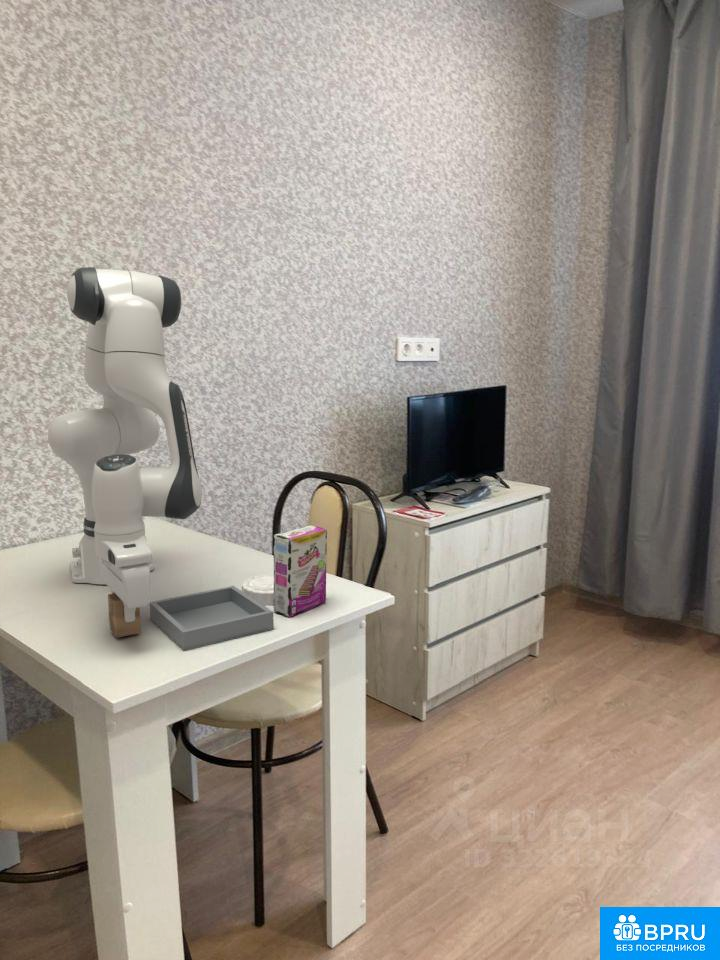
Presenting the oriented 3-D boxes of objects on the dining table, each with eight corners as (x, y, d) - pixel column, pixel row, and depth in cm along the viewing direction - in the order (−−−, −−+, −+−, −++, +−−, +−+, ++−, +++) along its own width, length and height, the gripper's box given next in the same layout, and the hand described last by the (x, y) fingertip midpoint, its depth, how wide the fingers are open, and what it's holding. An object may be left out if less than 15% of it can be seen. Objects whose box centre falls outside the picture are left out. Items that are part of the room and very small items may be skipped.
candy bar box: (290, 618, 148) (289, 539, 144) (273, 612, 151) (271, 534, 148) (328, 603, 156) (327, 527, 153) (310, 598, 159) (310, 523, 156)
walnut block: (109, 629, 140) (107, 594, 139) (133, 624, 143) (131, 590, 141) (116, 637, 136) (114, 601, 135) (140, 632, 139) (139, 597, 137)
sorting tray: (150, 619, 147) (149, 602, 146) (234, 601, 157) (233, 585, 156) (183, 650, 132) (182, 632, 132) (273, 629, 142) (273, 611, 141)
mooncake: (262, 584, 168) (262, 569, 168) (308, 592, 163) (308, 577, 162) (230, 601, 158) (230, 585, 157) (278, 610, 153) (278, 593, 152)
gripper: (88, 533, 143) (92, 601, 146) (118, 561, 126) (123, 637, 129) (121, 529, 146) (125, 595, 149) (155, 555, 130) (158, 629, 132)
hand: (124, 615), depth 139 cm, fingers closed on walnut block, 4 cm apart
